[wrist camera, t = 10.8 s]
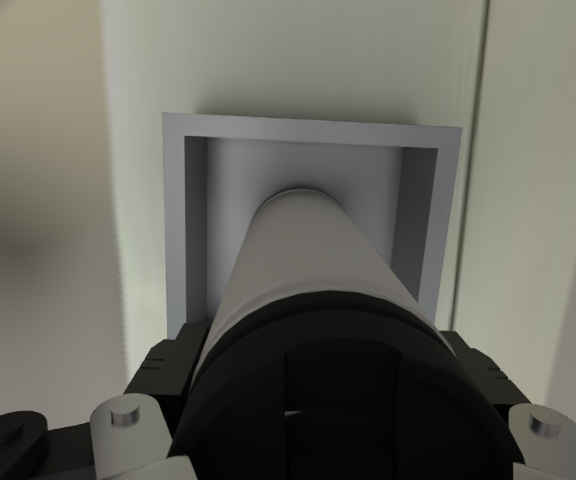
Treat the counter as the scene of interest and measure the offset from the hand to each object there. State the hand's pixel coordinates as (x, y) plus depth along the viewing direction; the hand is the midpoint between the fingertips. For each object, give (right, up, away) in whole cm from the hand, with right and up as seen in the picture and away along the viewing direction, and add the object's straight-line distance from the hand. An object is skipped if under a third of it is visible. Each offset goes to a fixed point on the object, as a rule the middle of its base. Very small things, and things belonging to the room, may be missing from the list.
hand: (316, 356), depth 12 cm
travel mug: (0, +3, +13) cm, 14 cm away
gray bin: (0, +4, +16) cm, 16 cm away
